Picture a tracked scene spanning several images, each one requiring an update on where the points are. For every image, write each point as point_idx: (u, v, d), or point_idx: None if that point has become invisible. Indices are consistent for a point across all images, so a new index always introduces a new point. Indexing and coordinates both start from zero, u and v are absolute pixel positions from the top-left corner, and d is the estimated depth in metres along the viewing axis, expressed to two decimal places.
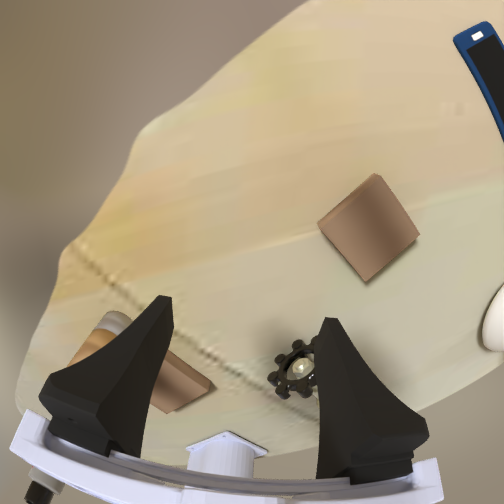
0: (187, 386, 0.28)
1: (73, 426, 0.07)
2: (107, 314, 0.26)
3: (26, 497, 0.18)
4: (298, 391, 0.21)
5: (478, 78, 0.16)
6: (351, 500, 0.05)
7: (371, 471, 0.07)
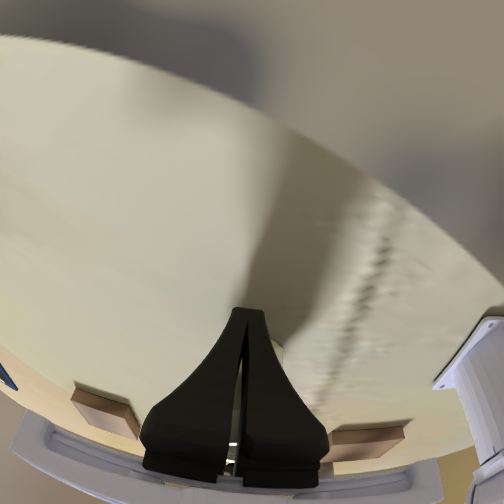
0: (339, 450, 0.22)
1: (174, 457, 0.07)
2: None
3: None
4: None
5: (6, 377, 0.25)
6: (351, 500, 0.05)
7: (263, 475, 0.07)
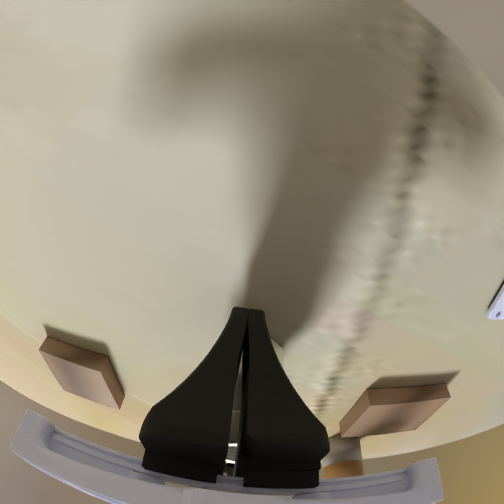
0: (375, 416, 0.18)
1: (173, 457, 0.07)
2: None
3: None
4: None
5: None
6: (351, 500, 0.05)
7: (264, 475, 0.07)
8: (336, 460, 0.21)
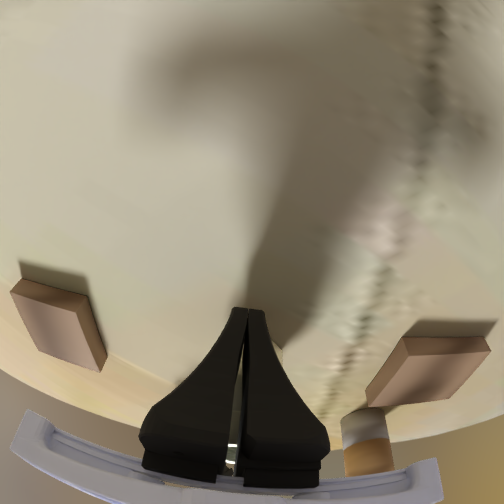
0: (412, 373, 0.15)
1: (173, 457, 0.07)
2: None
3: None
4: None
5: None
6: (351, 500, 0.05)
7: (264, 475, 0.07)
8: (361, 438, 0.18)
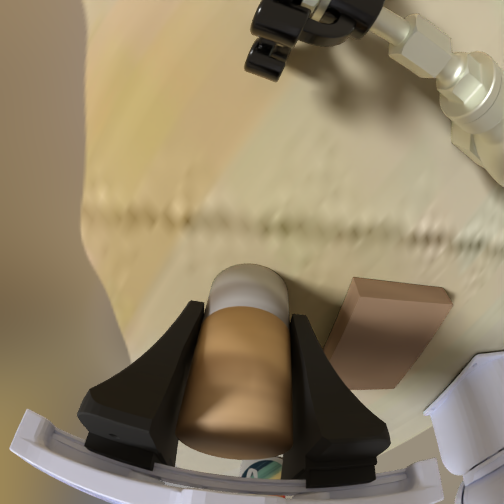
0: (418, 321, 0.14)
1: (113, 441, 0.07)
2: (213, 285, 0.14)
3: None
4: None
5: None
6: (351, 500, 0.05)
7: (327, 475, 0.07)
8: (285, 320, 0.12)
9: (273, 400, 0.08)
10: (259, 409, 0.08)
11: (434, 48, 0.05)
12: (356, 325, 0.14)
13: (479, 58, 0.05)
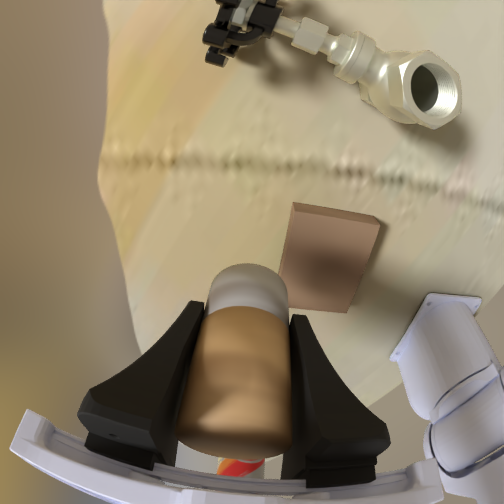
0: (350, 239, 0.19)
1: (113, 441, 0.07)
2: (212, 285, 0.14)
3: None
4: None
5: None
6: (351, 500, 0.05)
7: (327, 475, 0.07)
8: (284, 320, 0.12)
9: (272, 400, 0.08)
10: (258, 408, 0.08)
11: (312, 35, 0.11)
12: (297, 238, 0.19)
13: (354, 35, 0.11)
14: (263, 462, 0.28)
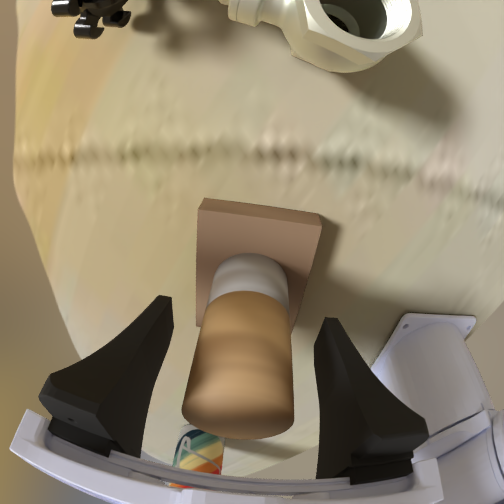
0: (280, 245, 0.15)
1: (73, 426, 0.07)
2: (216, 274, 0.15)
3: None
4: None
5: None
6: (351, 500, 0.05)
7: (371, 471, 0.07)
8: (285, 304, 0.13)
9: (275, 375, 0.09)
10: (261, 383, 0.09)
11: None
12: (206, 244, 0.15)
13: None
14: None
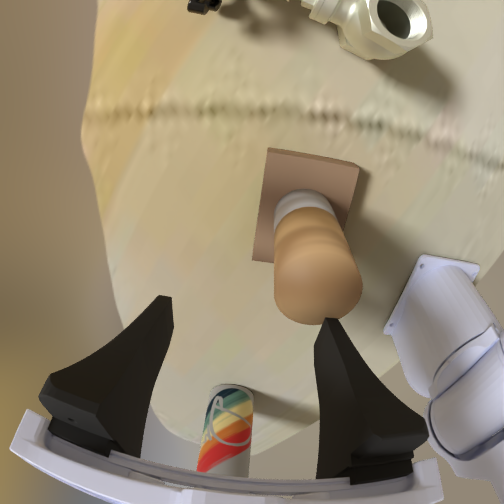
0: (328, 182, 0.18)
1: (73, 426, 0.07)
2: (278, 205, 0.19)
3: None
4: None
5: None
6: (351, 500, 0.05)
7: (371, 471, 0.07)
8: None
9: (347, 251, 0.13)
10: (341, 252, 0.12)
11: None
12: (271, 181, 0.18)
13: None
14: (249, 446, 0.27)
